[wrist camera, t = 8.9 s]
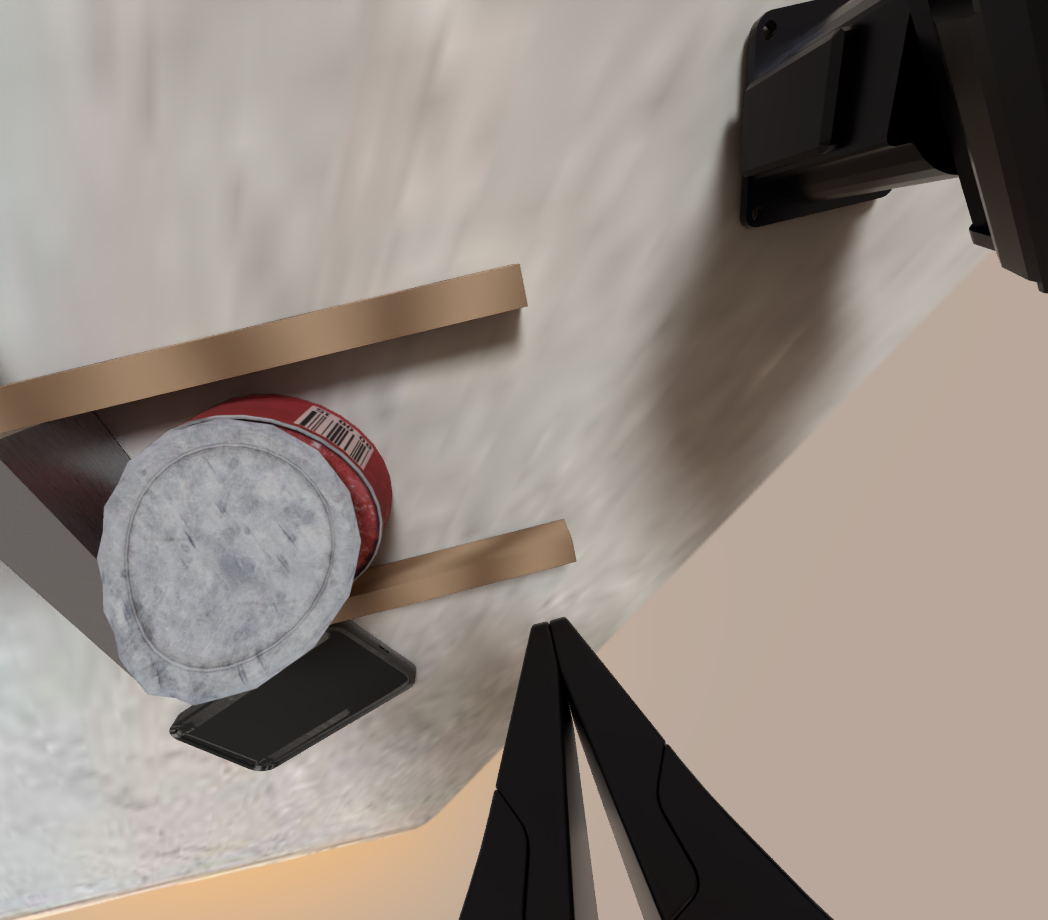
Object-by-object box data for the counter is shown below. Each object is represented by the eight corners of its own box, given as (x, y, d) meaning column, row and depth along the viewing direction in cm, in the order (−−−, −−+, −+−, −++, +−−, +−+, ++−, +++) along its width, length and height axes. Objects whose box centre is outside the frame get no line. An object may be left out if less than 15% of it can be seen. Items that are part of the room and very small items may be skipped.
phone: (160, 733, 25) (332, 621, 23) (172, 715, 26) (338, 606, 24) (264, 775, 29) (423, 682, 26) (271, 757, 30) (424, 666, 27)
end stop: (88, 405, 17) (-15, 444, 13) (241, 600, 22) (198, 664, 19) (17, 422, 16) (-105, 466, 13) (189, 613, 22) (136, 680, 19)
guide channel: (513, 264, 16) (519, 264, 14) (568, 538, 23) (576, 561, 21) (-13, 389, 16) (-73, 405, 14) (204, 630, 23) (182, 662, 21)
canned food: (248, 483, 24) (-2, 564, 15) (304, 347, 20) (8, 346, 11) (381, 607, 23) (200, 774, 14) (468, 492, 19) (293, 621, 10)
